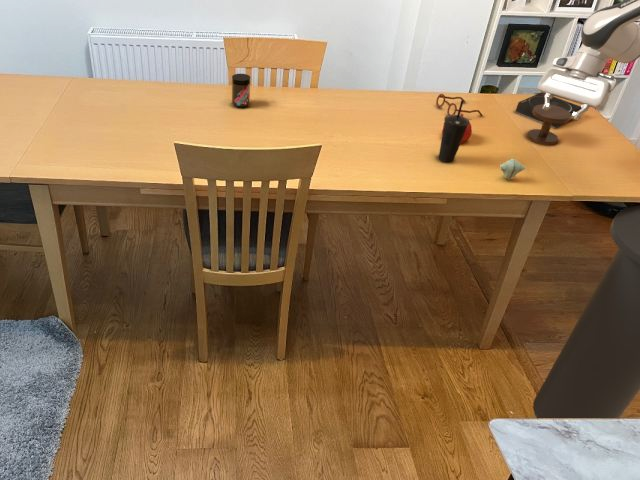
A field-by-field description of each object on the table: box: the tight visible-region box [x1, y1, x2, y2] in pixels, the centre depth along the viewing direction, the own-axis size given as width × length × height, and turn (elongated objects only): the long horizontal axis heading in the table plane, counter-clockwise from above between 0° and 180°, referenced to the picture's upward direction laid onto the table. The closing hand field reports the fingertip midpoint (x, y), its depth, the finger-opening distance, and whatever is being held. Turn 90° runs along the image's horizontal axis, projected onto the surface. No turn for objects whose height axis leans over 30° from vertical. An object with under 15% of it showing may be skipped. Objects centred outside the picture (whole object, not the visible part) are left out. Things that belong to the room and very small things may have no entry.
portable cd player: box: [514, 91, 582, 129], centre depth 219 cm, size 16×17×4 cm
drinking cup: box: [438, 99, 470, 164], centre depth 185 cm, size 8×8×20 cm
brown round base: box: [526, 104, 571, 146], centre depth 202 cm, size 12×12×10 cm
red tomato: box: [441, 113, 473, 143], centre depth 200 cm, size 10×10×9 cm
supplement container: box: [231, 73, 251, 109], centre depth 214 cm, size 7×7×10 cm
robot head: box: [499, 158, 527, 181], centre depth 181 cm, size 8×4×7 cm, turn 88°
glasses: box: [435, 93, 483, 117], centre depth 219 cm, size 13×13×5 cm
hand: (559, 114), depth 174 cm, fingers open, 8 cm apart
